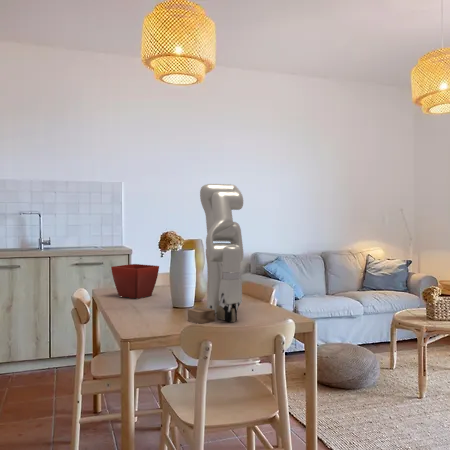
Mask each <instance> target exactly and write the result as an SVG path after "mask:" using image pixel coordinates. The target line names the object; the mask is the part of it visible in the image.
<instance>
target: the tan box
mask: <svg viewBox="0 0 450 450" xmlns="http://www.w3.org/2000/svg"><path fill="white" fill-rule="evenodd" d="M187 321H188V322H190V323H194V324H197V323H198V325H202V324H208V323H214V322H215V321H216V314H215V310H213V309H208V308H207V307H204V306H203V307H202V306H201V307H194V308H188V309H187Z"/></svg>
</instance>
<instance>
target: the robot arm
mask: <svg viewBox="0 0 450 450" xmlns="http://www.w3.org/2000/svg"><path fill="white" fill-rule="evenodd" d="M199 197H200V202H201V206H202V208H203V212H204V214H205V223H206V237H205V258H206V266H207V267H206V269H207V298H206V299H207V301H206V303H207V306H206V308H208V309H210V305H211V306H212V309H213V310H215V315H216V307H217V305H219V306H220V307H222V308H223V309H224V311H225V320H224V321H226V322H230V321H231V312H230V309H231V308H234V309H235V315H236V320H235V321H237V318H238V311H239V307H240V305H241V304H242V303H243V301H242V300H243V286H242V284H243V283H242V279H241V275H242V273H241V270H242V269H241V265H242V261H243V259H244V246H243V238H242V237H243V236H242V228H241V227H240V224H239V223H238V222H236V221H234V219H233V213H232V212H233V211H235V210H236V211H239V210H242V208H243V206H244V197H243V194H242V191H241V190H240V189H239V188H238V187H237V186H236V185H235V184H231V183H230V184H225V183H207V184H204V185H202V186H201V188H200V190H199ZM232 210H233V211H232Z"/></svg>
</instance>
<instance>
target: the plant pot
mask: <svg viewBox="0 0 450 450" xmlns="http://www.w3.org/2000/svg"><path fill="white" fill-rule="evenodd" d="M159 269H160V265H151V264H140V263H139V264H138V263H132V264H123V265H122V264H121V265H115V266H111V275H112V279H113V282H114V285H115V289H116V291H117V295H118V297H119V296H122V297H121V298H125V297H129V298H128V299H132V298H138V299H142V298H141V297H143V298H147V297H146V296H148V297H151V296H152V294H153V293H154V292H153V291H154V289H155V286H156V283H157V279H158V274H159V272H160V271H159Z"/></svg>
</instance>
